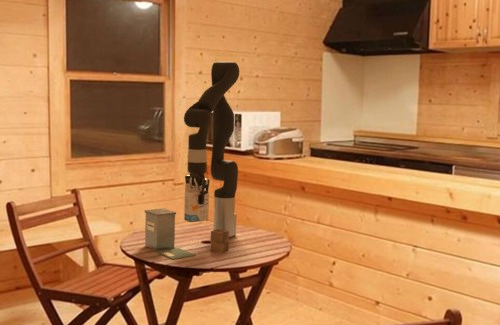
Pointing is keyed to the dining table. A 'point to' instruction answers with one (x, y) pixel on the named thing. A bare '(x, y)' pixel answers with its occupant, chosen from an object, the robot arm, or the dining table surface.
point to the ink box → (195, 205)
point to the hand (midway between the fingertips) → (196, 202)
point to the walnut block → (219, 241)
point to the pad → (175, 253)
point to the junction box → (160, 229)
